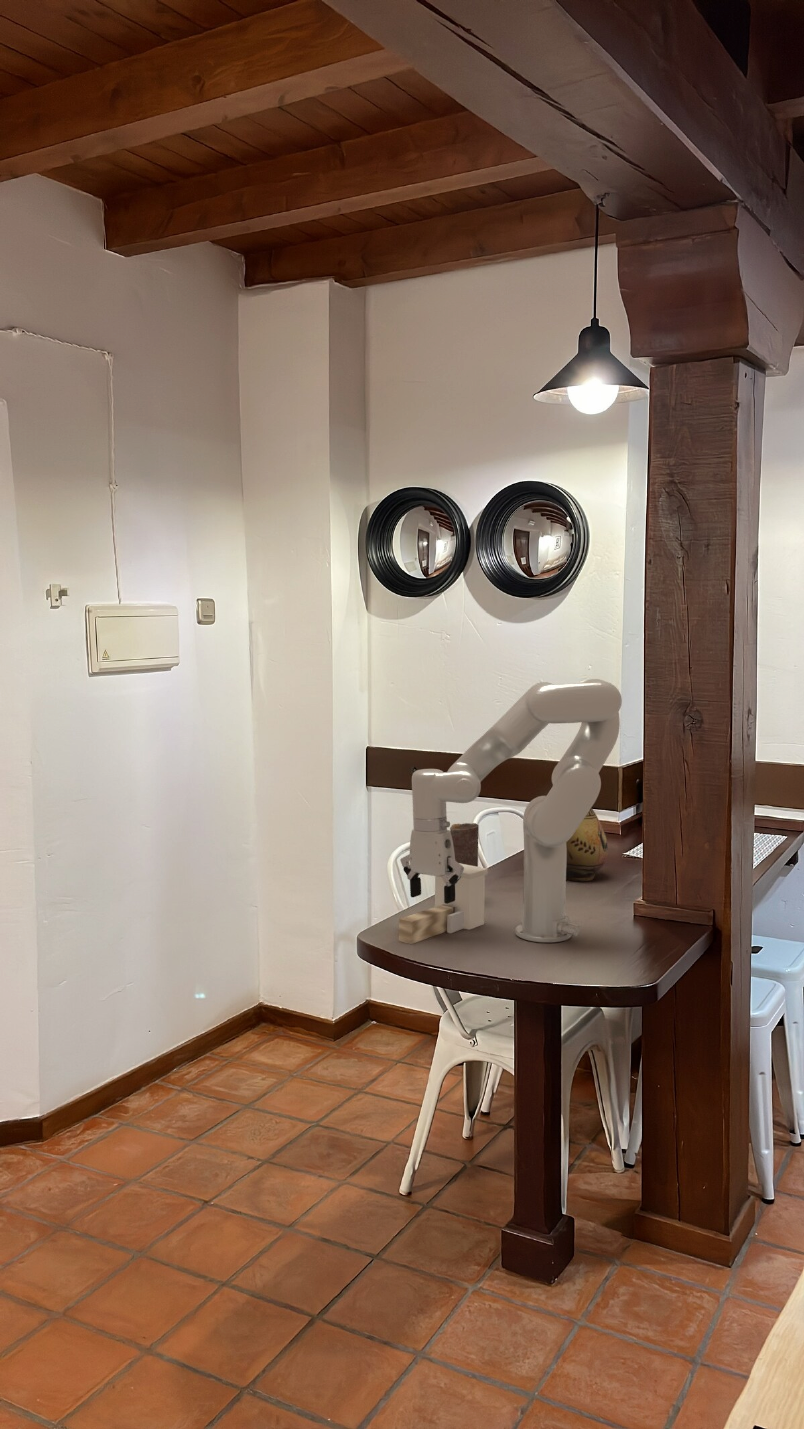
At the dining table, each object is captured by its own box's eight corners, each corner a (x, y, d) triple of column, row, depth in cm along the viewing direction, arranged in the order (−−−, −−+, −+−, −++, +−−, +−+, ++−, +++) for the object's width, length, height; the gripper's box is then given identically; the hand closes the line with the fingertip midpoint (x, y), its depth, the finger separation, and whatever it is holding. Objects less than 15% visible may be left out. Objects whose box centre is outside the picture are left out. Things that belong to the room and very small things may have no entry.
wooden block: (411, 944, 236) (411, 921, 236) (398, 940, 238) (399, 918, 238) (454, 928, 249) (455, 907, 248) (442, 925, 251) (443, 904, 250)
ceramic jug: (611, 884, 290) (614, 774, 287) (554, 883, 290) (556, 774, 287) (601, 869, 307) (603, 765, 304) (546, 868, 307) (549, 765, 304)
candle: (475, 907, 266) (476, 827, 264) (446, 905, 268) (447, 826, 266) (479, 899, 274) (480, 821, 272) (450, 897, 275) (451, 820, 273)
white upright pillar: (449, 915, 259) (450, 861, 258) (487, 924, 252) (488, 868, 251) (419, 925, 250) (420, 870, 249) (457, 935, 243) (458, 877, 242)
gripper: (471, 825, 238) (473, 900, 240) (410, 817, 249) (413, 890, 251) (450, 831, 233) (453, 908, 234) (389, 823, 244) (392, 897, 245)
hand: (432, 899), depth 243 cm, fingers open, 9 cm apart
